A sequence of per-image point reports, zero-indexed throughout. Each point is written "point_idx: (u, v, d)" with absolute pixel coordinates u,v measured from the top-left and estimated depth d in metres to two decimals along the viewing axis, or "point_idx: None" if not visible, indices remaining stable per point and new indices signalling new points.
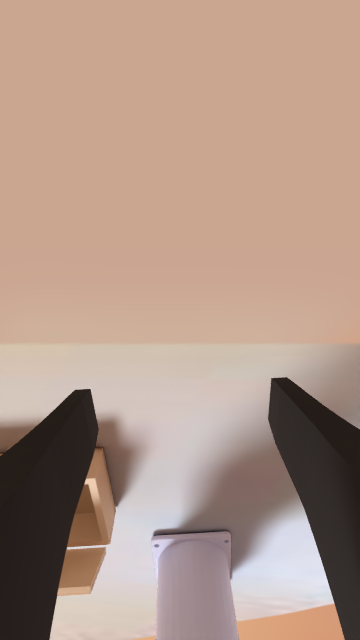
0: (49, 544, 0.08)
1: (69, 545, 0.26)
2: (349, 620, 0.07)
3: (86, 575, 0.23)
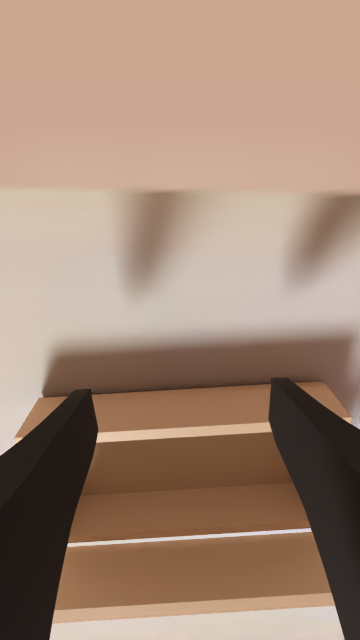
0: (49, 544, 0.08)
1: (269, 528, 0.18)
2: (349, 620, 0.07)
3: None
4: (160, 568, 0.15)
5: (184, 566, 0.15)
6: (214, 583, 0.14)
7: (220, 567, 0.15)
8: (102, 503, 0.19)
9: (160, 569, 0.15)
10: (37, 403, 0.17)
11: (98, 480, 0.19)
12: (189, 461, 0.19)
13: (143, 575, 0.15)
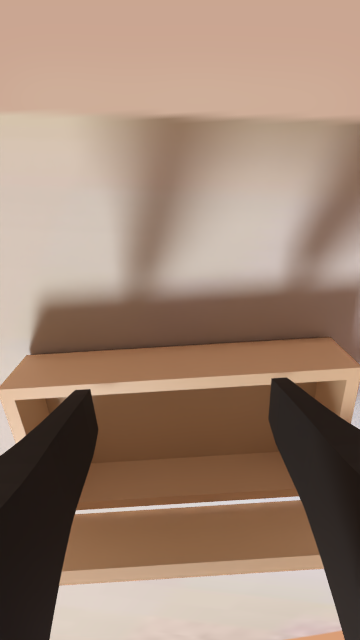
0: (49, 544, 0.08)
1: (272, 495, 0.17)
2: (349, 620, 0.07)
3: None
4: (155, 533, 0.14)
5: (181, 531, 0.14)
6: (213, 546, 0.13)
7: (220, 531, 0.14)
8: (95, 471, 0.18)
9: (155, 534, 0.14)
10: (24, 360, 0.16)
11: None
12: (187, 426, 0.18)
13: (137, 540, 0.14)
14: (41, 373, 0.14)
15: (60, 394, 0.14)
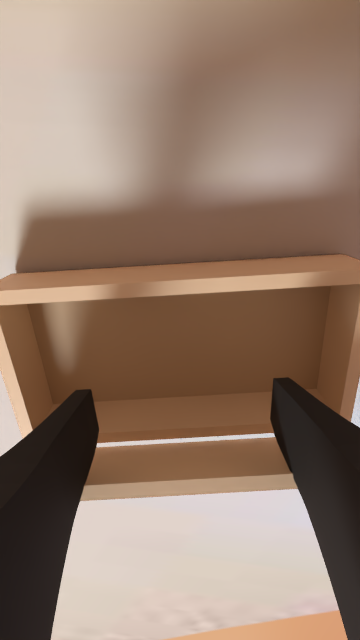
0: (50, 544, 0.08)
1: None
2: (352, 620, 0.07)
3: None
4: (150, 460, 0.13)
5: (179, 458, 0.13)
6: (214, 467, 0.12)
7: (222, 457, 0.13)
8: None
9: (150, 460, 0.13)
10: (8, 276, 0.14)
11: (82, 383, 0.17)
12: (187, 358, 0.16)
13: (129, 464, 0.12)
14: (25, 282, 0.13)
15: (45, 298, 0.12)
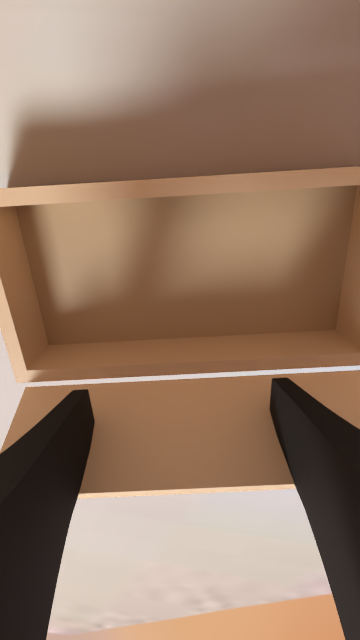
0: (46, 544, 0.08)
1: (296, 365, 0.14)
2: (350, 620, 0.07)
3: None
4: (157, 429, 0.12)
5: (188, 426, 0.12)
6: (227, 457, 0.11)
7: (234, 430, 0.12)
8: (84, 348, 0.15)
9: (157, 430, 0.12)
10: None
11: (80, 321, 0.15)
12: (194, 291, 0.15)
13: (136, 440, 0.12)
14: None
15: (36, 199, 0.11)
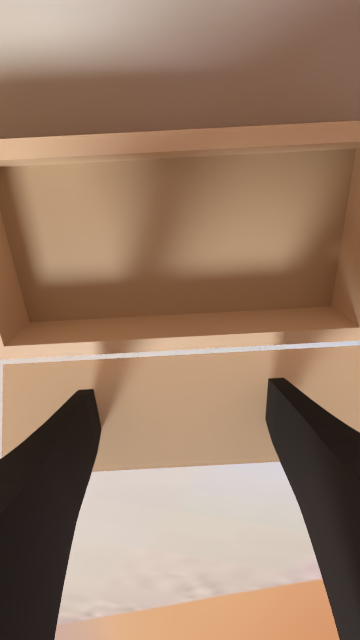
0: (54, 544, 0.08)
1: (290, 340, 0.13)
2: (344, 620, 0.07)
3: (357, 427, 0.13)
4: (147, 412, 0.13)
5: (176, 409, 0.13)
6: (211, 440, 0.13)
7: (220, 413, 0.13)
8: (67, 325, 0.15)
9: (147, 414, 0.13)
10: None
11: (62, 296, 0.15)
12: (183, 264, 0.14)
13: (128, 423, 0.13)
14: None
15: (8, 154, 0.10)
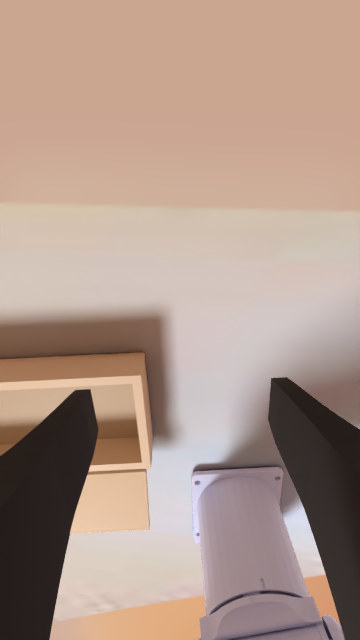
0: (49, 544, 0.08)
1: (103, 469, 0.22)
2: (349, 620, 0.07)
3: (140, 515, 0.23)
4: None
5: None
6: None
7: None
8: None
9: None
10: None
11: None
12: None
13: None
14: None
15: None
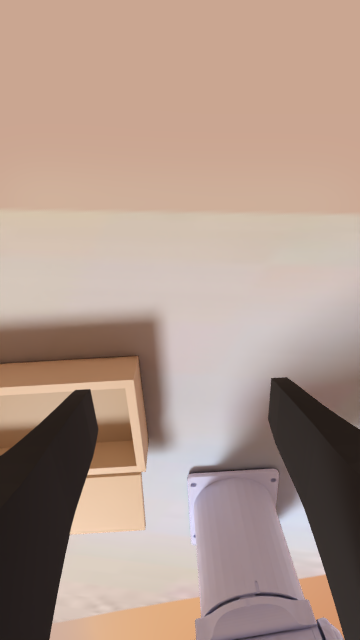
0: (49, 544, 0.08)
1: (98, 472, 0.22)
2: (349, 620, 0.07)
3: (135, 516, 0.23)
4: None
5: None
6: None
7: None
8: None
9: None
10: None
11: None
12: None
13: None
14: None
15: None
